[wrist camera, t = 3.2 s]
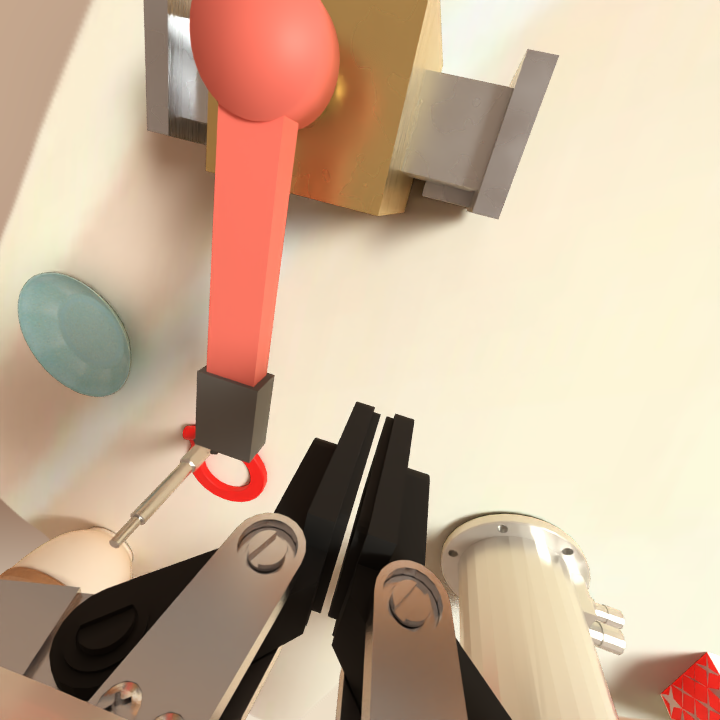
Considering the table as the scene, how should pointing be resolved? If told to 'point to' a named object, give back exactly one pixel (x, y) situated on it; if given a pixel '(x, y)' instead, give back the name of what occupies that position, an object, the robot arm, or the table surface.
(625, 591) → the table surface
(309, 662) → the table surface
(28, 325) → the saucer
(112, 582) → the lidded bowl
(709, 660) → the white and red cube
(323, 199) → the valve body
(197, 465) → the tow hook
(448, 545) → the robot arm
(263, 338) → the lever
